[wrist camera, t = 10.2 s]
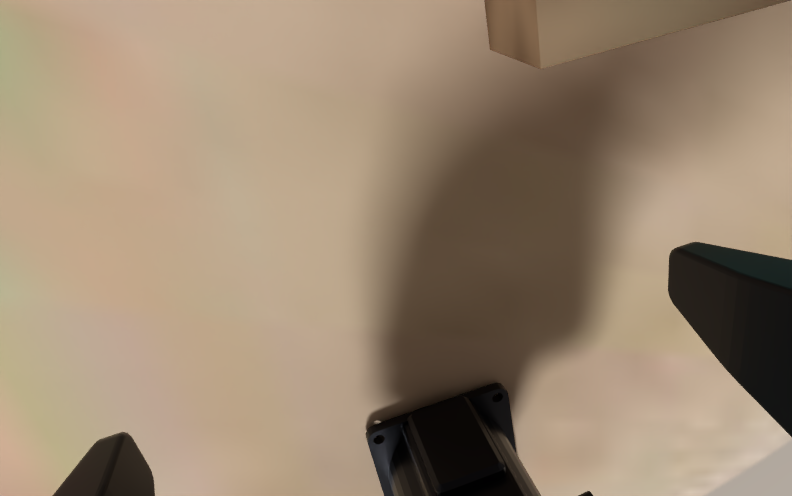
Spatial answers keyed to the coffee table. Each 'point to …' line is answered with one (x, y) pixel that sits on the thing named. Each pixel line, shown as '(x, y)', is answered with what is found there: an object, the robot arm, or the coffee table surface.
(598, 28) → the walnut block
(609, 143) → the coffee table surface
